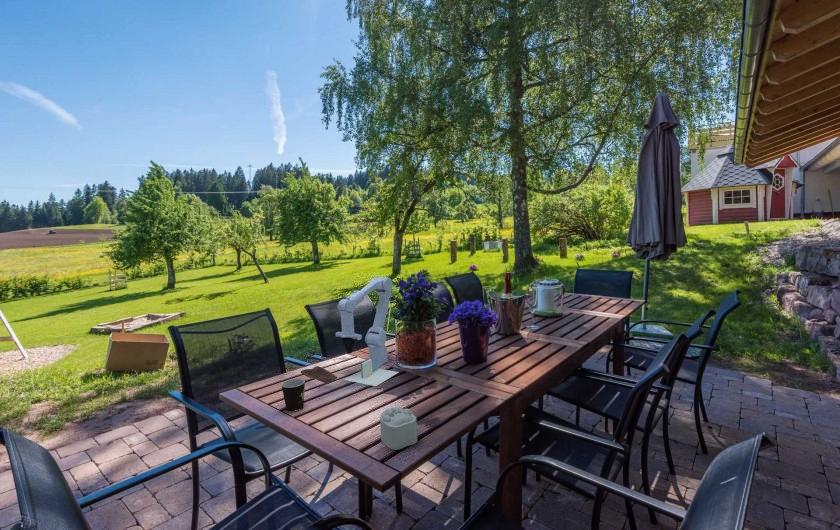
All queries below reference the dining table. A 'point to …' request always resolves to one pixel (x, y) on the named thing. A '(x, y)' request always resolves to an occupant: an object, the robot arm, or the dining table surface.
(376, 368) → the flat tile
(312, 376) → the wooden tablet
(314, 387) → the dining table surface
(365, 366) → the tile
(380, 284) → the robot arm
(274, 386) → the dining table surface
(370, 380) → the felt mat
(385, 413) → the lumpy-topped squat cylinder
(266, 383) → the dining table surface
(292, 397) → the coffee mug
